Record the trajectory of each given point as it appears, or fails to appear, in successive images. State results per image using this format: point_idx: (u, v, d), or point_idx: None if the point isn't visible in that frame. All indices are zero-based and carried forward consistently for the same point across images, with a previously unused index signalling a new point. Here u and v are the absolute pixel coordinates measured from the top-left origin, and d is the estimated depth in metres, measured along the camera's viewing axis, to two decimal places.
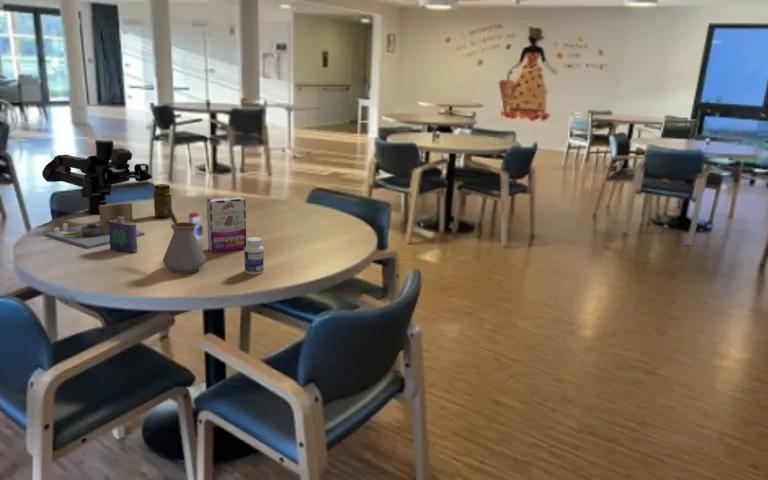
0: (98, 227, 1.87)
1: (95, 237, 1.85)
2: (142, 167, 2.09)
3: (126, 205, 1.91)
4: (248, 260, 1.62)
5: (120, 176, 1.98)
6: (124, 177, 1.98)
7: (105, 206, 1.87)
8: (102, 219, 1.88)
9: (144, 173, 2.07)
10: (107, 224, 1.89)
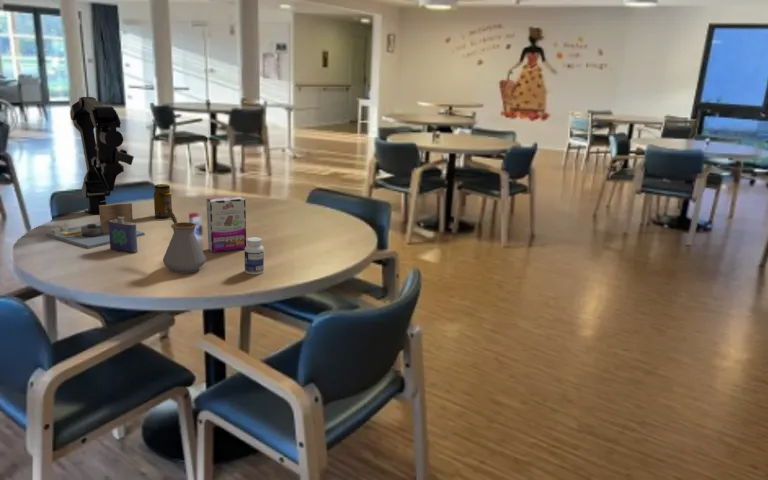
0: (98, 227, 1.87)
1: (95, 237, 1.85)
2: None
3: (126, 205, 1.91)
4: (248, 260, 1.62)
5: (113, 182, 1.98)
6: (112, 186, 1.99)
7: (105, 206, 1.87)
8: (102, 219, 1.88)
9: None
10: (107, 224, 1.89)
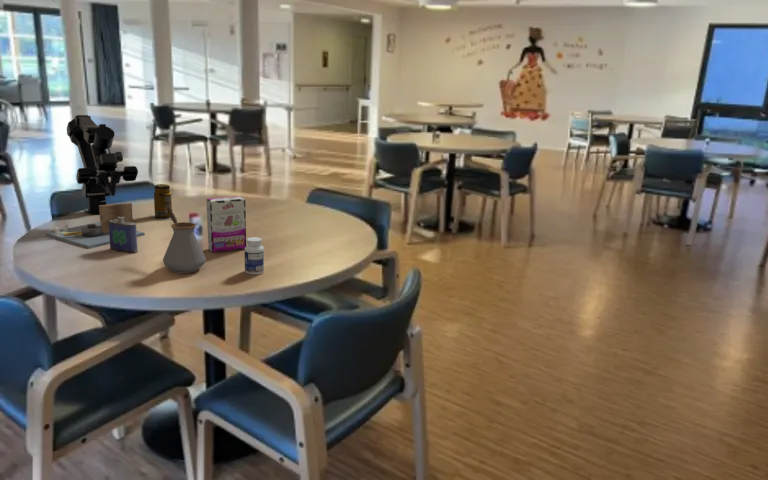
0: (98, 227, 1.87)
1: (95, 237, 1.85)
2: (114, 176, 1.97)
3: (126, 205, 1.91)
4: (248, 260, 1.62)
5: (107, 187, 1.96)
6: (110, 191, 1.96)
7: (105, 206, 1.87)
8: (102, 219, 1.88)
9: (112, 184, 1.97)
10: (107, 224, 1.89)
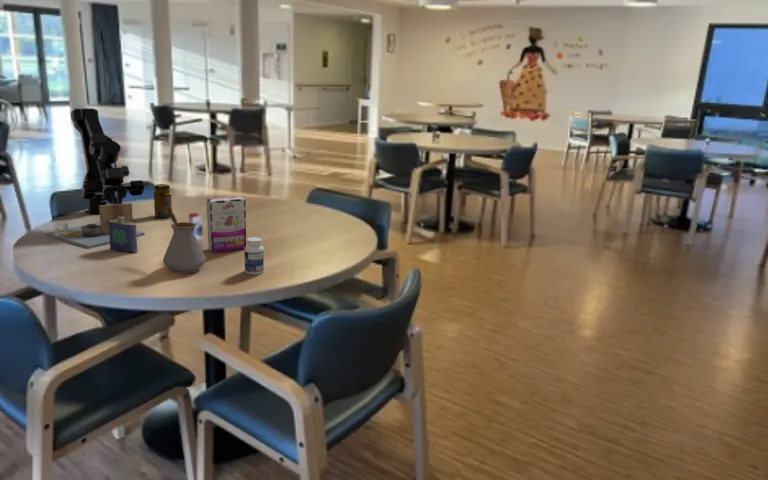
0: (98, 227, 1.87)
1: (95, 237, 1.85)
2: (120, 190, 1.93)
3: (126, 205, 1.91)
4: (248, 260, 1.62)
5: (113, 202, 1.91)
6: None
7: (105, 206, 1.87)
8: (102, 219, 1.88)
9: (118, 199, 1.92)
10: (107, 224, 1.89)
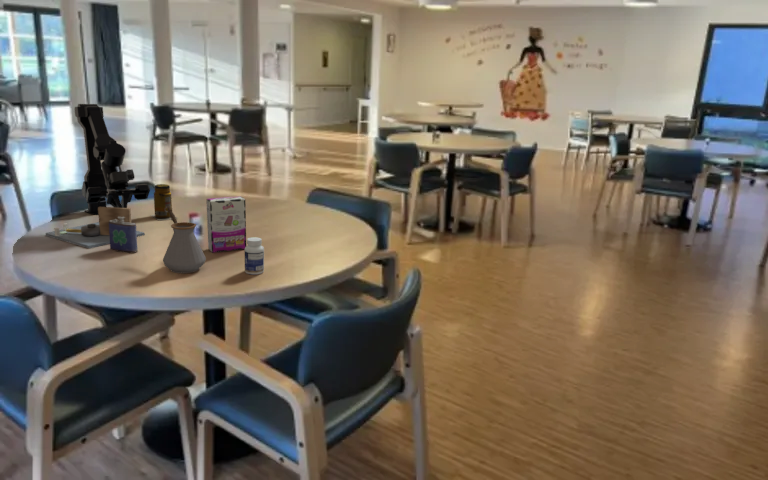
0: (95, 228, 1.86)
1: (95, 237, 1.85)
2: (125, 195, 1.88)
3: (123, 210, 1.85)
4: (248, 260, 1.62)
5: (118, 207, 1.87)
6: None
7: (103, 208, 1.85)
8: (100, 221, 1.86)
9: (123, 204, 1.88)
10: (105, 226, 1.86)
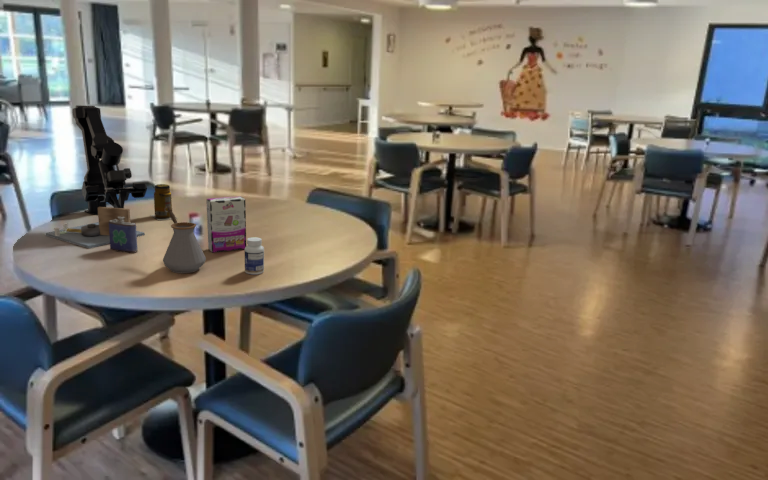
0: (94, 228, 1.85)
1: (95, 237, 1.85)
2: (122, 193, 1.91)
3: (123, 210, 1.84)
4: (248, 260, 1.62)
5: (115, 205, 1.90)
6: None
7: (103, 208, 1.84)
8: (100, 221, 1.85)
9: (120, 202, 1.91)
10: (104, 227, 1.86)
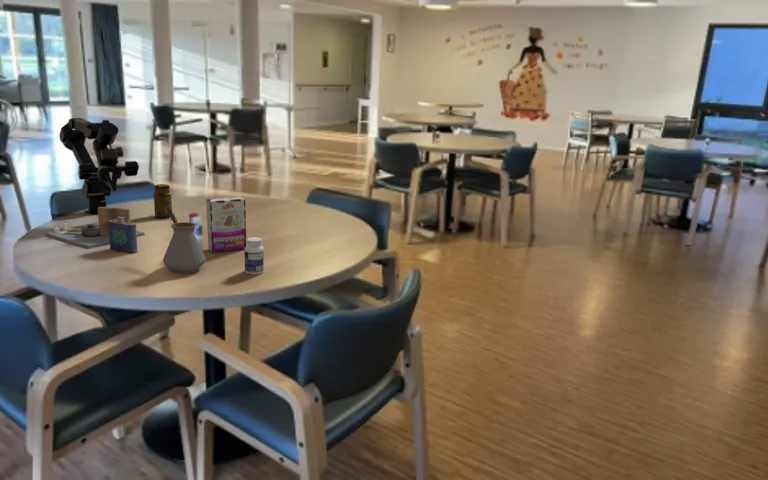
0: (94, 228, 1.85)
1: (95, 237, 1.85)
2: (115, 171, 1.99)
3: (123, 210, 1.84)
4: (248, 260, 1.62)
5: (108, 182, 1.98)
6: (111, 186, 1.98)
7: (103, 208, 1.84)
8: (100, 221, 1.85)
9: (113, 180, 1.99)
10: (104, 227, 1.86)
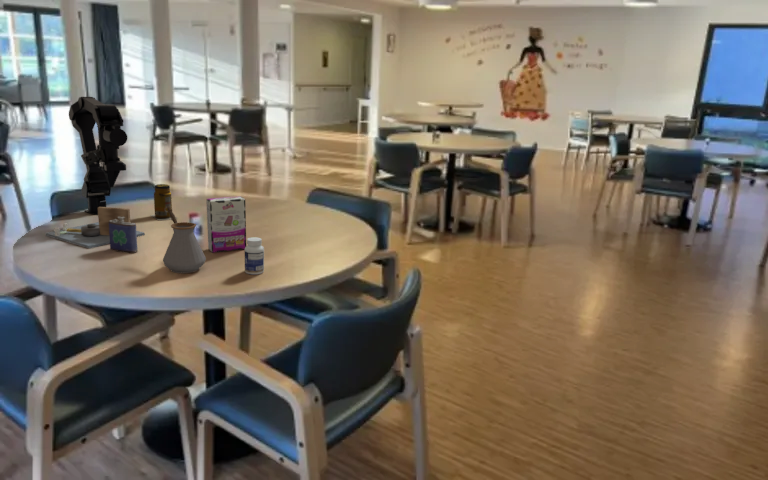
0: (94, 228, 1.85)
1: (95, 237, 1.85)
2: (103, 170, 1.99)
3: (123, 210, 1.84)
4: (248, 260, 1.62)
5: None
6: None
7: (103, 208, 1.84)
8: (100, 221, 1.85)
9: None
10: (104, 227, 1.86)
